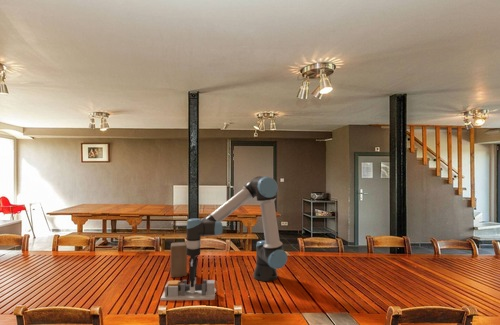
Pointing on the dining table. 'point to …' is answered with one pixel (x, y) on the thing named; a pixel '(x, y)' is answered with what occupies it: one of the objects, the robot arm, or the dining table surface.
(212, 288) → the rod with end blocks
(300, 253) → the dining table surface
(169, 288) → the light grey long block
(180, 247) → the wooden block
